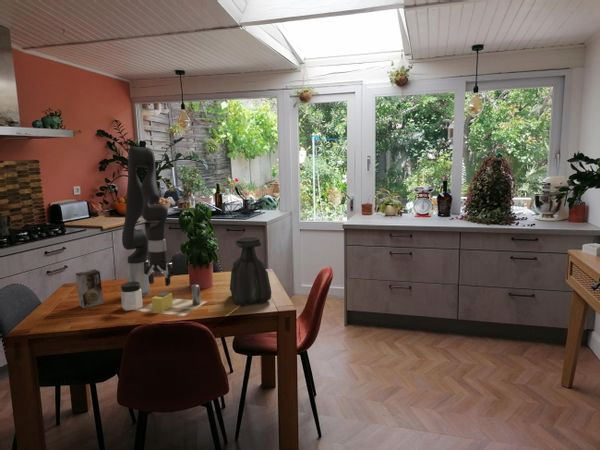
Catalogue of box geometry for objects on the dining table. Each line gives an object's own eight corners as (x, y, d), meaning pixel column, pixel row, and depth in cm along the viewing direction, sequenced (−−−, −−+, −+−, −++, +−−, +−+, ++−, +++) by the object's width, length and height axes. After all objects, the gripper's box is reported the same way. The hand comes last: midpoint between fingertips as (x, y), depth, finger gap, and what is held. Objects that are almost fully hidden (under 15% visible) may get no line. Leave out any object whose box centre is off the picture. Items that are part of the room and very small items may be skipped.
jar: (120, 313, 193) (118, 287, 191) (123, 307, 200) (121, 282, 198) (141, 311, 194) (139, 285, 193) (144, 305, 202) (141, 280, 200)
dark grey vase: (265, 293, 216) (263, 234, 211) (272, 303, 200) (270, 240, 196) (229, 297, 211) (226, 237, 206) (234, 308, 195) (231, 243, 190)
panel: (136, 312, 193) (136, 310, 192) (162, 299, 210) (162, 297, 210) (184, 318, 185) (184, 315, 184) (207, 303, 202) (207, 301, 202)
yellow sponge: (152, 310, 192) (151, 296, 191) (163, 304, 199) (162, 291, 198) (162, 311, 190) (161, 297, 189) (172, 305, 198) (171, 292, 196)
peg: (191, 305, 198) (189, 286, 196) (195, 302, 201) (194, 284, 200) (197, 305, 197) (196, 286, 195) (202, 303, 200) (200, 284, 199)
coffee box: (98, 300, 211) (95, 268, 208) (103, 303, 206) (100, 271, 203) (79, 305, 204) (75, 272, 202) (83, 308, 200) (80, 275, 197)
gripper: (138, 250, 189) (141, 285, 191) (165, 252, 184) (167, 288, 187) (149, 246, 196) (152, 280, 198) (176, 248, 191) (178, 283, 194)
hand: (159, 284), depth 193 cm, fingers open, 8 cm apart
